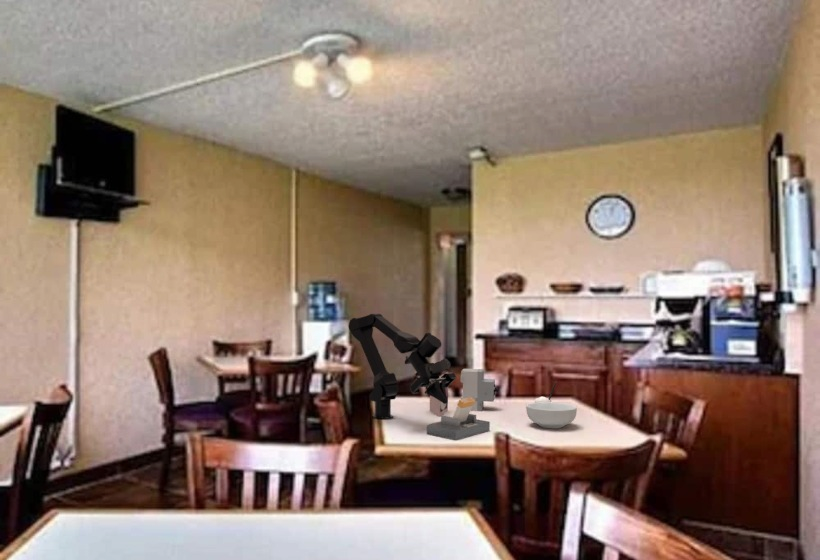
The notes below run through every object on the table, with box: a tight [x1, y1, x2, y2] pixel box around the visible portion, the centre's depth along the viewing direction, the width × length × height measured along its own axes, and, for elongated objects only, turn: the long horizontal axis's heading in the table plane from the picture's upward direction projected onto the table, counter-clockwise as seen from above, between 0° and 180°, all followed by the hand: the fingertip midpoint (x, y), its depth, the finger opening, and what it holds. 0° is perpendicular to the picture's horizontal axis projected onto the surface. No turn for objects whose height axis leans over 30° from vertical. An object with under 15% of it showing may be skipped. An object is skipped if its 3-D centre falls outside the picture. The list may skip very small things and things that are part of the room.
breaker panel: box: [426, 413, 491, 441], centre depth 222 cm, size 12×18×6 cm, turn 138°
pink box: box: [429, 371, 449, 418], centre depth 252 cm, size 11×7×15 cm, turn 161°
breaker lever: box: [452, 398, 475, 422], centre depth 220 cm, size 2×6×8 cm, turn 138°
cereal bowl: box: [525, 401, 577, 430], centre depth 232 cm, size 17×17×7 cm
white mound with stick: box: [534, 381, 557, 403], centre depth 253 cm, size 10×6×12 cm, turn 58°
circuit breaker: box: [460, 368, 500, 412], centre depth 261 cm, size 8×14×15 cm, turn 78°
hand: (446, 402), depth 225 cm, fingers closed
